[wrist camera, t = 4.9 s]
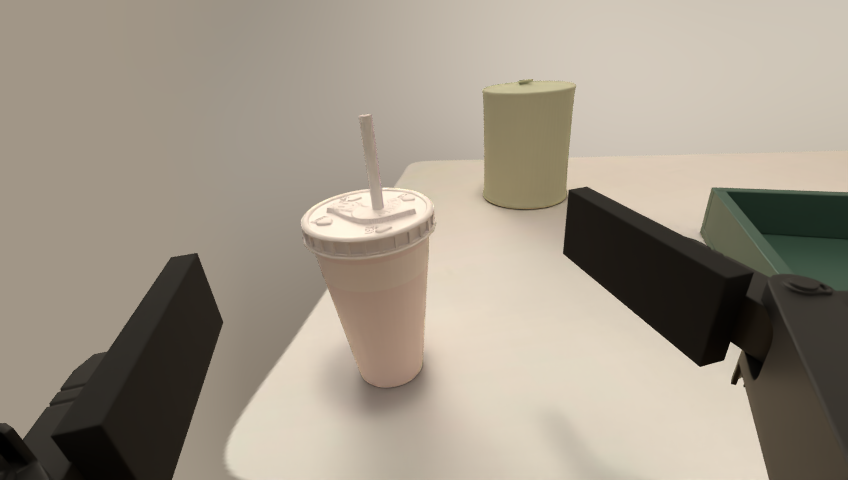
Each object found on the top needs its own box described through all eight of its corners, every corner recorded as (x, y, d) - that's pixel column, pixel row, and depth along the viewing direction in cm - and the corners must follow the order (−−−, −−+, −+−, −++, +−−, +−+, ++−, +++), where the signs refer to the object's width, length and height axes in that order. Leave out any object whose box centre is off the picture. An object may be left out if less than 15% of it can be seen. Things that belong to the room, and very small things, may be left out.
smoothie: (428, 419, 20) (398, 131, 13) (314, 396, 22) (240, 134, 15) (456, 334, 25) (444, 100, 19) (363, 321, 27) (323, 105, 21)
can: (556, 179, 49) (564, 73, 44) (576, 207, 41) (589, 82, 36) (481, 182, 50) (479, 80, 45) (485, 211, 42) (484, 90, 37)
